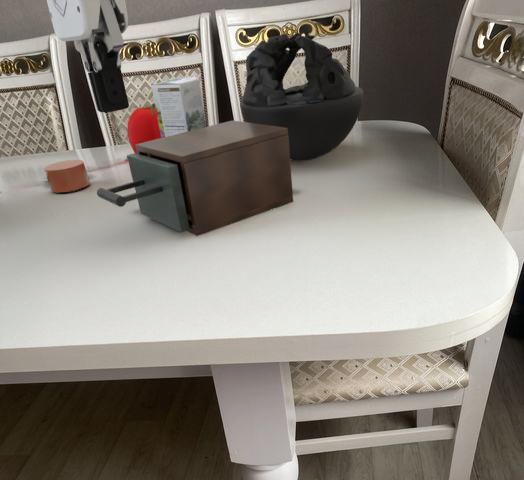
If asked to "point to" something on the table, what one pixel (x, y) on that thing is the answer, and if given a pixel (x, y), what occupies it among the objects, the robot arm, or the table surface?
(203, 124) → the syrup box
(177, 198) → the drawer
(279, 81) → the black sculpted bowl
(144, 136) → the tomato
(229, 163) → the cabinet
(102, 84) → the robot arm
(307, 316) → the table surface
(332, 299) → the table surface
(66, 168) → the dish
